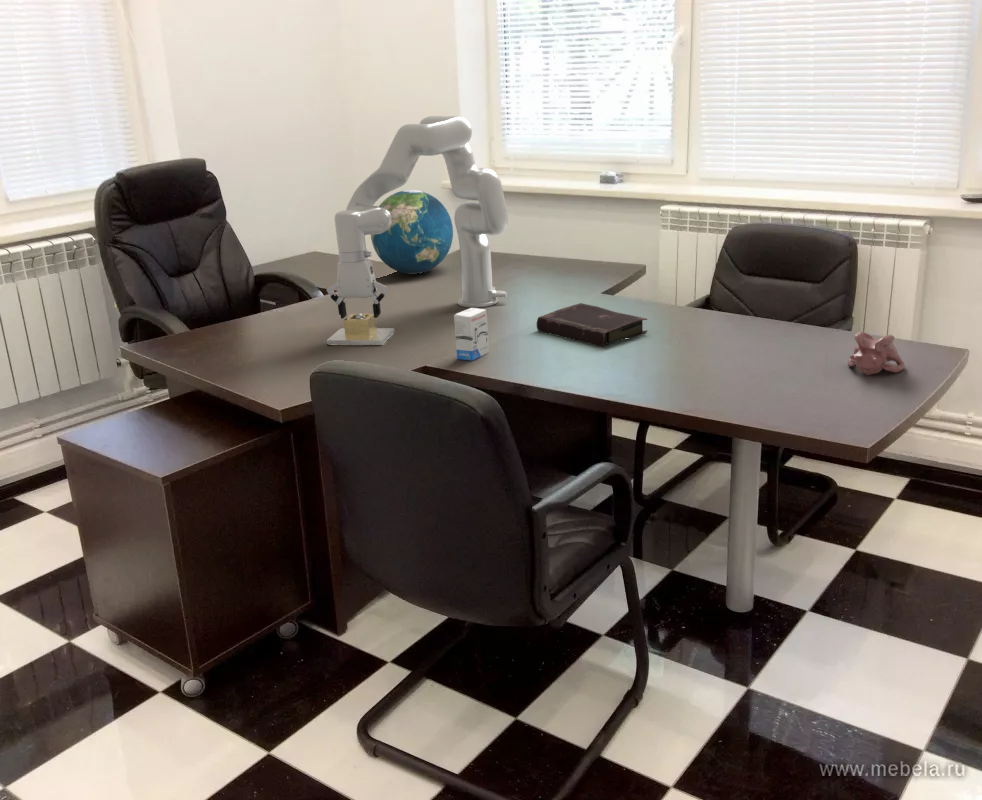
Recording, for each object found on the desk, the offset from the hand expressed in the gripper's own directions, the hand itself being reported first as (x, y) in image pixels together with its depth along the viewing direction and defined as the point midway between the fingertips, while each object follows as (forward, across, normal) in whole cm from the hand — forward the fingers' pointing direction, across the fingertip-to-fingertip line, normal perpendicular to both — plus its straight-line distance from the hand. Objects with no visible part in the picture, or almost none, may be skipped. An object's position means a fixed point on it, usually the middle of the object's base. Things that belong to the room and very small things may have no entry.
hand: (360, 316), depth 261 cm
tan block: (+5, 0, 0) cm, 5 cm away
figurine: (+8, -131, +26) cm, 134 cm away
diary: (+8, -64, -7) cm, 65 cm away
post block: (+6, 0, 0) cm, 6 cm away
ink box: (+7, -35, +16) cm, 39 cm away
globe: (+8, +6, -84) cm, 85 cm away
